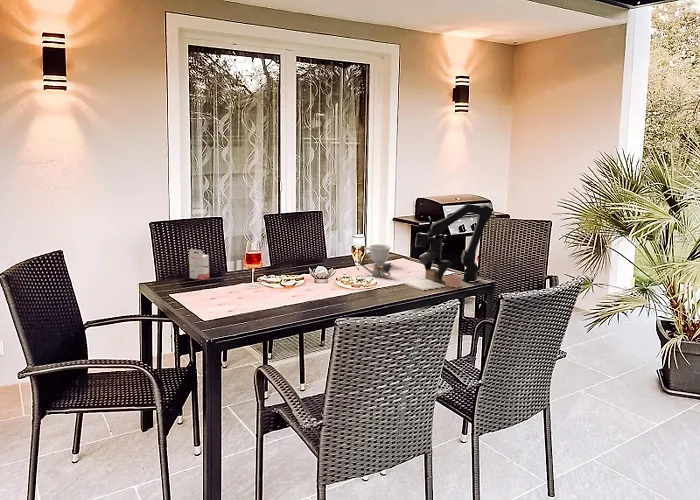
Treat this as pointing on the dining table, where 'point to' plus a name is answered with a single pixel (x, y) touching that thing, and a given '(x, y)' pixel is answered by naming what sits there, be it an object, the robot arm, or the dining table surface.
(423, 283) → the pad
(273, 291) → the dining table surface
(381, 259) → the teacup
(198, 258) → the ink cartridge box
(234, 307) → the dining table surface
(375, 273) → the toy
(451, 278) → the clay block
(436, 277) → the walnut block
